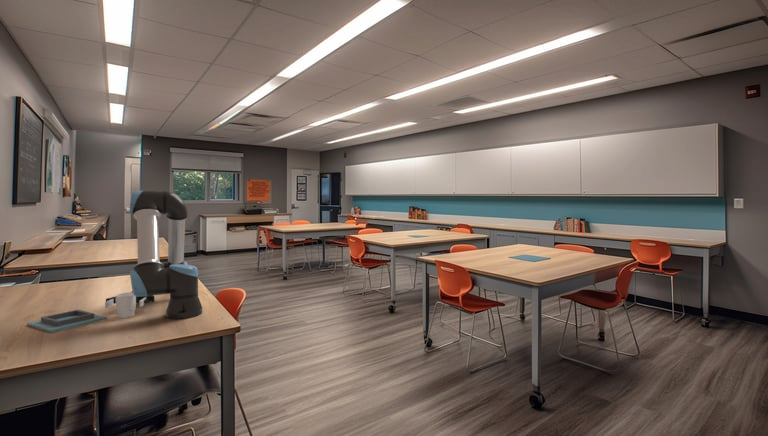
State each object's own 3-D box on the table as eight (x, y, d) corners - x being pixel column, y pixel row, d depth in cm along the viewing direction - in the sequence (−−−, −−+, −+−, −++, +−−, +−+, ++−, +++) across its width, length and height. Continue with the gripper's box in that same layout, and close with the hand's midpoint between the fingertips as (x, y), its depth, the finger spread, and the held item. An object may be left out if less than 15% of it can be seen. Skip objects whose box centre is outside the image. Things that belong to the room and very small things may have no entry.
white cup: (138, 315, 172) (138, 294, 172) (118, 319, 166) (117, 297, 166) (133, 312, 177) (133, 291, 177) (113, 315, 172) (113, 294, 171)
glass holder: (106, 319, 166) (106, 312, 166) (51, 332, 148) (51, 325, 148) (82, 313, 175) (82, 306, 175) (27, 325, 157) (27, 318, 157)
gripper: (168, 299, 192) (154, 311, 172) (113, 302, 186) (91, 314, 166) (168, 285, 192) (154, 295, 172) (113, 287, 186) (91, 297, 166)
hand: (123, 304), depth 169 cm, fingers open, 13 cm apart
